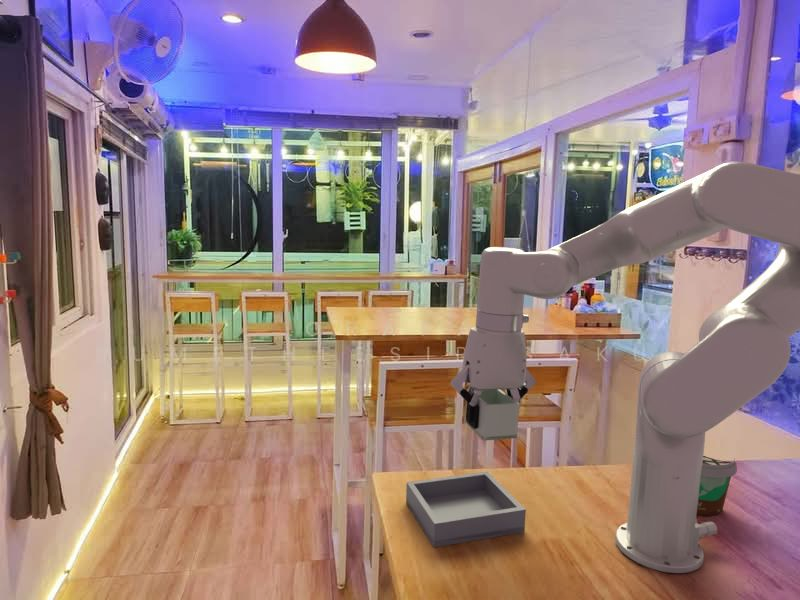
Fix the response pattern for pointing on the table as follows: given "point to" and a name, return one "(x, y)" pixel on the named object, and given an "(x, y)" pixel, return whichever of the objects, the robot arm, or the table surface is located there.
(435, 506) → the big crate
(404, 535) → the table surface
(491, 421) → the small crate
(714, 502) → the food container
